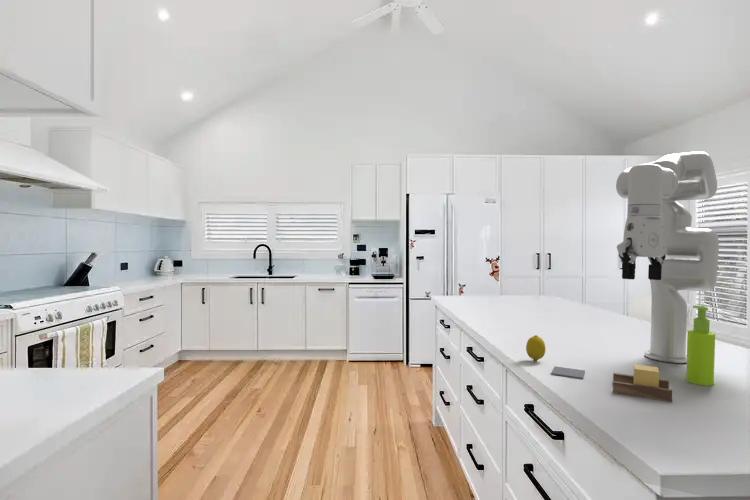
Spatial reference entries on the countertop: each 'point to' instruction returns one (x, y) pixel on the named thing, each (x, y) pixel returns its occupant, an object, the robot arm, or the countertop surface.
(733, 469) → the countertop surface
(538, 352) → the lemon
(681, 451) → the countertop surface
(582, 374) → the slate coaster
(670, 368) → the countertop surface
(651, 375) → the ochre block
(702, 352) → the soap dispenser
